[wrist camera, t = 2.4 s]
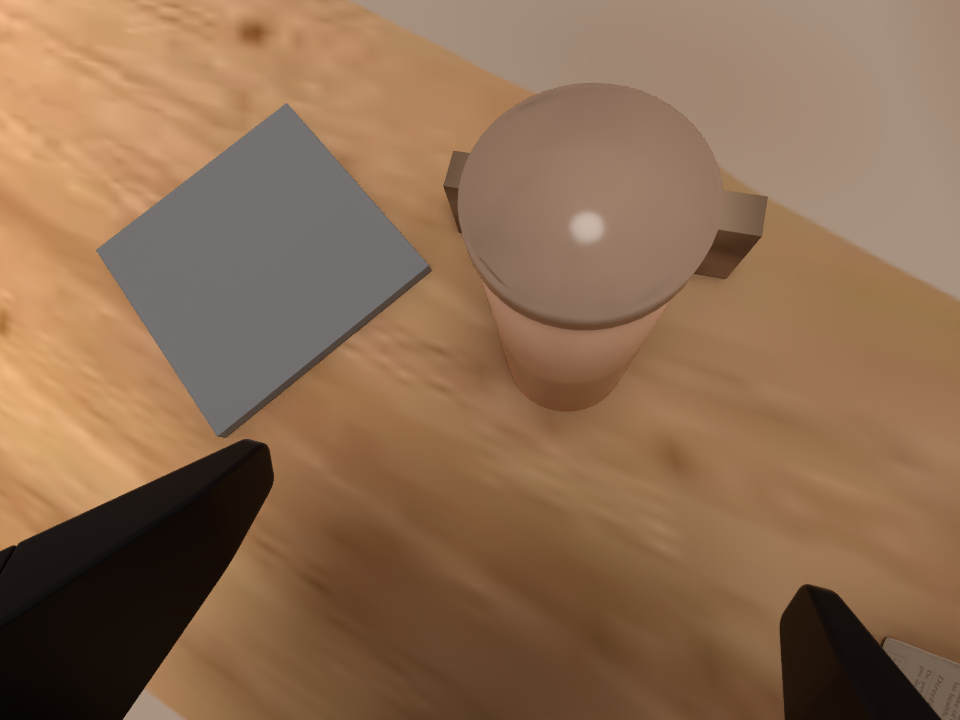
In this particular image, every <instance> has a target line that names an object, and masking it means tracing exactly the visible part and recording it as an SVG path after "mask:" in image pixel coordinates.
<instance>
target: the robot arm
mask: <svg viewBox="0 0 960 720" xmlns="http://www.w3.org/2000/svg"><path fill="white" fill-rule="evenodd" d="M273 481H274V473H273V467H272V462H271V456H270V450H269V447H268V446H267V445H266V444H265V443H262V442H258V441H254V440H250V439H244V440H241V441H239V442H236V443H234V444H232V445H230V446H228V447H226V448H223V449H221V450H219V451H217V452H215V453H212V454H210V455H208V456H206V457H204V458H202V459H199V460H197V461H195V462H193V463H191V464H189V465H186V466H184V467H182V468H180V469H178V470H176V471H173V472H171V473H169V474H167V475H165V476H163V477H160V478H158V479H156V480H154V481H152V482H150V483H147V484H145V485H143V486H141V487H139V488H137V489H134V490H132V491H130V492H128V493H126V494H124V495H121V496H119V497H117V498H115V499H113V500H110V501H108V502H106V503H104V504H102V505H100V506H97V507H95V508H93V509H91V510H89V511H87V512H84V513H82V514H80V515H78V516H76V517H74V518H71V519H69V520H67V521H65V522H63V523H61V524H58V525H56V526H54V527H52V528H50V529H48V530H45V531H43V532H41V533H39V534H37V535H34V536H32V537H30V538H28V539H26V540H24V541H21V542H20V543H19V544H18V545H17V546H15V545H13V546H10V547H8V548H6V549H4V550H2V551H0V720H123V718H124V717H125V715H126V714H127V712H128V711H129V710H130V708H131V707H132V705H133V704H134V702H135V701H136V700H137V698H138V697H139V695H140V694H141V692H142V691H143V689H144V688H145V686H146V685H147V684H148V682H149V681H150V679H151V678H152V676H153V675H154V673H155V672H156V671H157V669H158V668H159V666H160V665H161V663H162V662H163V660H164V659H165V657H166V656H167V655H168V653H169V652H170V650H171V649H172V647H173V646H174V644H175V643H176V641H177V640H178V639H179V637H180V636H181V634H182V633H183V631H184V630H185V628H186V627H187V626H188V624H189V623H190V621H191V620H192V618H193V617H194V615H195V614H196V612H197V611H198V610H199V608H200V607H201V605H202V604H203V602H204V601H205V599H206V598H207V597H208V595H209V594H210V592H211V591H212V589H213V588H214V586H215V585H216V583H217V582H218V581H219V579H220V578H221V576H222V575H223V573H224V572H225V570H226V569H227V567H228V566H229V564H230V562H231V561H232V559H233V557H234V556H235V554H236V552H237V550H238V549H239V547H240V545H241V543H242V541H243V539H244V538H245V536H246V534H247V532H248V530H249V529H250V527H251V525H252V523H253V521H254V519H255V518H256V516H257V514H258V512H259V510H260V509H261V507H262V505H263V503H264V501H265V499H266V498H267V496H268V494H269V492H270V490H271V488H272V485H273ZM780 645H781V663H782V680H783V697H784V714H785V720H942V719H941V718H940V717H939V715H938V714H937V713H936V712H935V711H934V709H933V708H932V707H931V706H930V705H929V703H928V702H927V701H926V700H925V699H924V697H923V696H922V695H921V694H920V692H919V691H918V690H917V689H916V688H915V686H914V685H913V684H912V683H911V682H910V680H909V679H908V678H907V677H906V676H905V674H904V673H903V672H902V671H901V670H900V668H899V667H898V666H897V665H896V664H895V662H894V661H893V660H892V659H891V658H890V656H889V655H888V654H887V653H886V652H885V650H884V649H883V648H882V647H881V646H880V644H879V643H878V642H877V641H876V640H875V638H874V637H873V636H872V635H871V634H870V632H869V631H868V630H867V629H866V628H865V626H864V625H863V624H862V623H861V621H860V620H859V619H858V618H857V617H856V615H855V614H854V613H853V612H852V611H851V609H850V608H849V607H848V606H847V605H846V603H845V602H844V601H843V600H842V599H841V597H840V596H839V595H838V594H836V593H835V592H834V591H832V590H829V589H825V588H822V587H818V586H814V585H810V584H805V585H803V586H801V587H800V588H799V590H798V591H797V593H796V594H795V596H794V597H793V599H792V600H791V602H790V603H789V605H788V606H787V608H786V609H785V611H784V612H783V614H782V617H781V620H780Z"/></svg>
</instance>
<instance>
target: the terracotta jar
mask: <svg viewBox="0 0 960 720" xmlns="http://www.w3.org/2000/svg"><path fill="white" fill-rule="evenodd" d="M722 204H723V191H722V181H721V176H720V172H719V168H718V165H717V162H716V160H715V157H714V155H713V152H712V150H711V149H710V147H709V145H708V144H707V142H706V140H705V138H704V137H703V136H702V134H701V133H700V132H699V131H698V129H697V128H696V127H695V126H694V125H693V124H692V123H691V122H690V121H689V120H688V119H687V118H686V117H685V116H684V115H683V114H682V113H680V112H679V111H678V110H676V109H675V108H674V107H672V106H671V105H669V104H667V103H665V102H664V101H662V100H660V99H659V98H657V97H655V96H652V95H650V94H647V93H645V92H643V91H640V90H636V89H633V88H629V87H626V86H620V85H614V84H604V83H585V84H584V83H583V84H573V85H567V86H561V87H558V88H554V89H551V90H547V91H544V92H541V93H539V94H536V95H534V96H531V97H529V98H527V99H526V100H524V101H522V102H520V103H518V104H516V105H515V106H513V107H512V108H511V109H509V110H508V111H506V112H505V113H504V114H502V115H501V116H500V117H499V118H498V119H497V120H496V121H495V122H493V123H492V124H491V125H490V127H489V128H488V129H487V130H486V131H485V132H484V133H483V135H482V136H481V137H480V139H479V140H478V142H477V143H476V145H475V146H474V147H473V149H472V151H471V153H470V155H469V157H468V159H467V161H466V164H465V167H464V169H463V172H462V175H461V180H460V185H459V190H458V215H459V223H460V227H461V231H462V235H463V238H464V241H465V244H466V247H467V250H468V253H469V256H470V258H471V260H472V263H473V265H474V267H475V269H476V271H477V272H478V274H479V276H480V278H481V279H482V282H483V286H484V289H485V292H486V295H487V298H488V302H489V305H490V308H491V311H492V314H493V318H494V321H495V324H496V327H497V330H498V334H499V337H500V340H501V343H502V346H503V350H504V353H505V356H506V359H507V362H508V366H509V369H510V372H511V374H512V377H513V379H514V381H515V383H516V384H517V386H518V387H519V389H520V390H521V391H522V392H523V393H524V394H525V395H526V396H527V397H528V398H529V399H531V400H532V401H534V402H535V403H537V404H539V405H541V406H543V407H545V408H548V409H552V410H557V411H577V410H581V409H585V408H588V407H590V406H593V405H594V404H596V403H598V402H600V401H601V400H602V399H604V398H605V397H606V396H607V395H608V394H609V393H610V392H611V391H612V390H613V389H614V387H615V386H616V384H617V383H618V381H619V380H620V378H621V377H622V375H623V374H624V372H625V370H626V369H627V367H628V366H629V364H630V363H631V361H632V360H633V358H634V357H635V355H636V353H637V352H638V350H639V349H640V347H641V346H642V344H643V343H644V341H645V339H646V338H647V336H648V335H649V333H650V332H651V330H652V329H653V327H654V326H655V324H656V322H657V321H658V319H659V318H660V316H661V315H662V313H663V312H664V310H665V308H666V307H667V305H668V304H669V302H670V301H671V299H672V298H673V297H674V296H675V295H676V294H677V293H678V292H680V291H681V290H682V289H683V287H684V286H685V285H686V284H687V282H688V281H689V280H690V279H691V277H692V276H693V274H694V273H695V272H696V270H697V269H698V267H699V266H700V264H701V263H702V261H703V260H704V258H705V256H706V254H707V253H708V251H709V249H710V248H711V246H712V244H713V241H714V239H715V236H716V234H717V231H718V228H719V224H720V219H721V215H722Z"/></svg>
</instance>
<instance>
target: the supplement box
mask: <svg viewBox="0 0 960 720" xmlns="http://www.w3.org/2000/svg"><path fill="white" fill-rule="evenodd" d="M883 649H884V650H885V652H886V653H887V654H888V655H889V656H890V658H891V659H892V660H893V661H894V662H895V664H896V665H897V666H898V667H899V668H900V670H901V671H902V672H903V673H904V674H905V676H906V677H907V678H908V679H909V680H910V682H911V683H912V684H913V685H914V686H915V688H916V689H917V690H918V691H919V692H920V694H921V695H922V696H923V697H924V699H925V700H926V701H927V702H928V703H929V705H930V706H931V707H932V708H933V709H934V711H935V712H936V713H937V714H938V715H939V717H940V718H941V719H942V720H960V663H957V662H955V661H952V660H949V659H946V658H944V657H941V656H938V655H936V654H933V653H930V652H928V651H925V650H923V649H920V648H918V647H915V646H913V645H910V644H908V643H905V642H902V641H899V640H895V639H892V638H886V639H885V642H884V645H883Z"/></svg>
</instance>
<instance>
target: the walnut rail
mask: <svg viewBox="0 0 960 720" xmlns="http://www.w3.org/2000/svg"><path fill="white" fill-rule="evenodd" d="M469 155H470V153H465V152H458V151H453V154H452V158H451V161H450V165H449V168H448V172H447V175H446V179H445V182H444V189H445V192H446V195H447V198H448V201H449V204H450V207H451V210H452V213H453V215H454V218H455V221H456V224H457V227H458V230H459V233H462V231H461V227H460V223H459V215H458V190H459V185H460V180H461V175H462V172H463V169H464V167H465V164H466V161H467V159H468V157H469ZM722 191H723V204H722V215H721V219H720V224H719V228H718V231H717V234H716V236H715V239H714V241H713V244H712V246H711V248H710V249H709V251H708V253H707V254H706V256H705V258H704V260H703V261H702V263H701V264H700V266H699V267H698V269H697V270H696V272H695V273H696V274H702V275H708V276H714V277H719V278H725V279H726V278H727V277H728V276H729V275H730V274H731V272H732V271H733V270H734V269H735V268H736V266H737V265H738V264H739V263H740V262H741V260H742V259H743V258H744V257H745V256H746V255H747V253H748V252H749V251H750V250H751V249H752V247H753V246H754V245H755V244H756V243H757V241H758V240H759V239H760V238H761V237H762V232H763V225H764V218H765V211H766V204H767V198H768V197H766V196H759V195H752V194H746V193H739V192H732V191H725V190H722Z"/></svg>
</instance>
